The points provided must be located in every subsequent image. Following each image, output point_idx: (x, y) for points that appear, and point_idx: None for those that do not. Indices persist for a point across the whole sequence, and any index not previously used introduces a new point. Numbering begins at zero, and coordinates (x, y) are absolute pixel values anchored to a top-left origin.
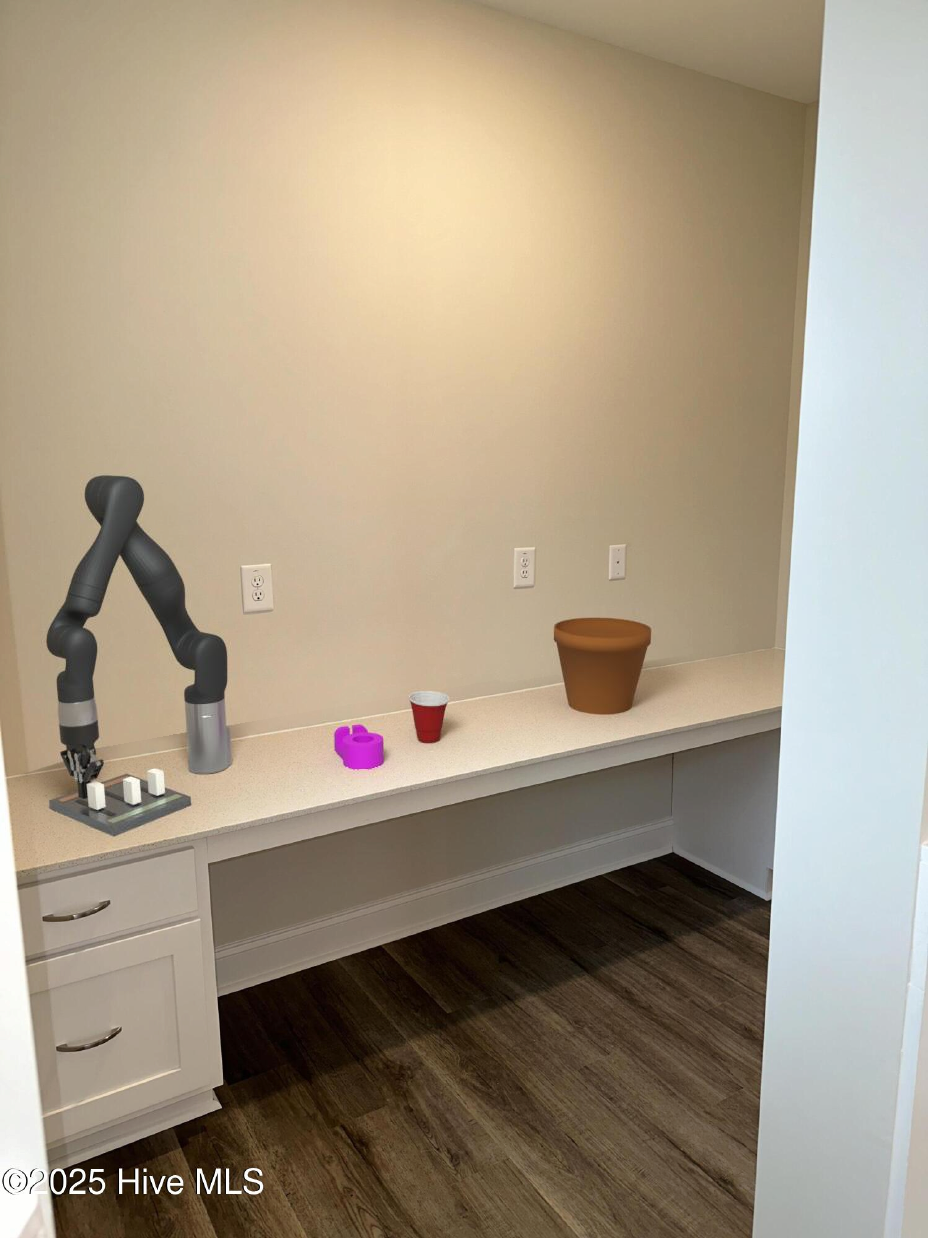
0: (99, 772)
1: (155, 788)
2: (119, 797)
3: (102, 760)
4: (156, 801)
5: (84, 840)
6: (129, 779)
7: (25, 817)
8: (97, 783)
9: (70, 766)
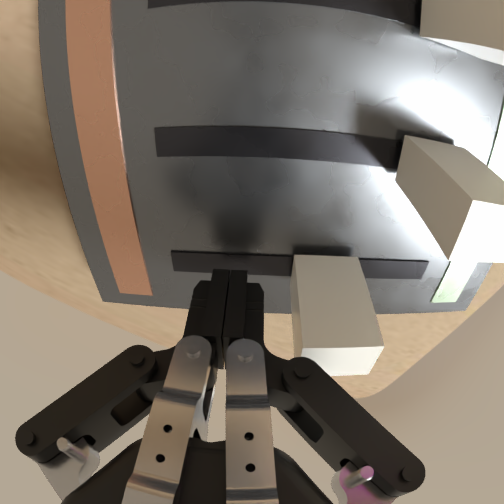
0: (358, 404)
1: (498, 62)
2: (315, 143)
3: (418, 486)
4: (498, 99)
5: (396, 331)
6: (488, 242)
7: (130, 329)
8: (342, 356)
9: (134, 423)
